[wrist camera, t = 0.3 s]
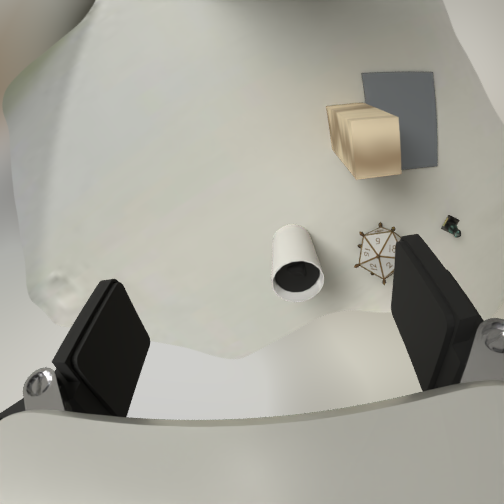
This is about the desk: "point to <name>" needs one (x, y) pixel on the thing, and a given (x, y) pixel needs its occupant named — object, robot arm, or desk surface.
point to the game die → (378, 252)
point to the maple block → (365, 139)
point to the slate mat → (407, 112)
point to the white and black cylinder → (295, 265)
